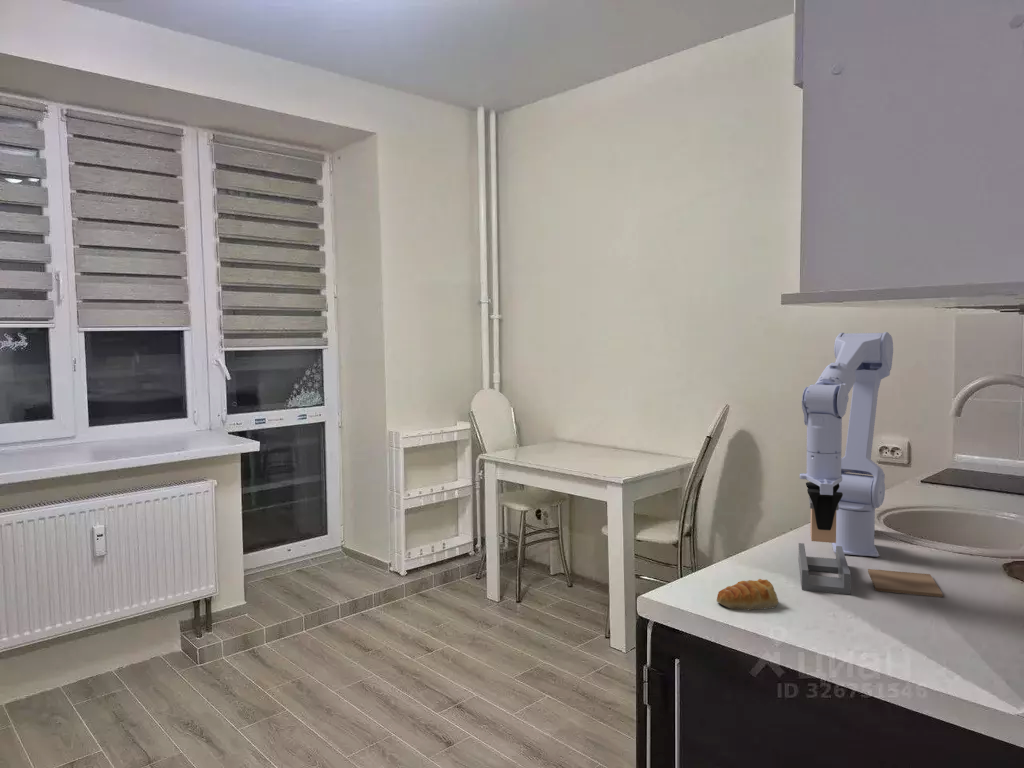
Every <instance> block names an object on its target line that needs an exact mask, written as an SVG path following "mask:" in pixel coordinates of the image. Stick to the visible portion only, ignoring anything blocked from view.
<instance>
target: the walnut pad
mask: <svg viewBox="0 0 1024 768" xmlns="http://www.w3.org/2000/svg"><path fill="white" fill-rule="evenodd" d="M867 573H868V575H869V577H870V581H871V583H872V586H873V588H874V590H875V592H876V591H877V592H884V593H886V592H887V593H894V594H895V593H897V594H906V595H918V596H927V597H936V598H937V597H940V598H943V597H944V594H943V592H942V591H941V589H940V587H939V586H938V584H937V582H936V581H935V580H934V578H933V577H932V575H931V574H930V573H920V572H919V573H918V572H907V571H896V570H885V569H884V570H882V569H873V568H872V569H870V568H868V569H867Z"/></svg>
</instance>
